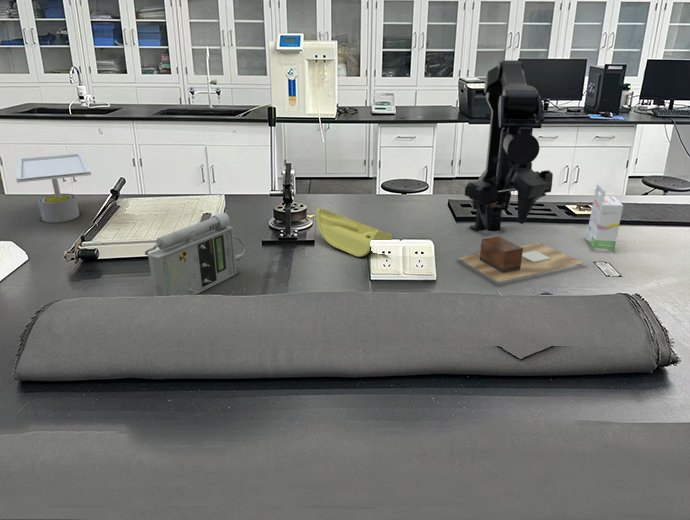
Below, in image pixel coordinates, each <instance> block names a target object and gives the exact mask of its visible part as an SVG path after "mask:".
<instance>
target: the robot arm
mask: <svg viewBox="0 0 690 520" xmlns="http://www.w3.org/2000/svg"><path fill="white" fill-rule="evenodd" d="M523 66H524V64H523V61H520V60H513V59H511V60H510V59H509V60H508V59H504V60H501V61H498V63H497V65H496V66H494V67H492V68H491V69H489V70H488V71H487V73H486V76H485V80H484V91H483V92H484V94H486V95H485V100H486V102H487V104H488V106H489V109H490V123H489V132H488V133H489V134H488V140H487V141H488V142H487V153H486V161H485V162H486V163H485V170H484V171H483V172H482V173H481V175H480V176H479V177H478V180H477V181H470V182H468V183H467V184H466V185H465V187H464V196H466V197H467V198H469V200H472V202H471V203H472V208H473V210H476V212H475V221H474V224H472V225H470V226H469V228H470V229H472V230H474V231H476V232H481V231H482V232H483V231H489V232H497V231H501V224H502V211H505V212H507V210H508V209H509V205H510V201H511V197H512V192H517V219H518V223H519V224H521V225H522V224H523V225H524V223H525V221H526V220H527V218H528V217H529V214H530V212H531V210H532V208H533V206H534V205H535V203H536V202H537V201H538V200H539V199H541V198H543V197H546V196H547V193H551V192H552V188H553V175H554V173H553V172H552V171H550V170H549V169H547V170H541V171H538V170H537V171H534V170H533V161H535V160H536V159H537V157H538V155H539V153H540V148H541V147H540V143H539V141H538V139H537V138H536V137H535V136H534V135H533V131H534V130H533V129H542V124H544V121H545V113H544V112H545V111H544V102H543V100H542V96H541V95H539V91H538V90H537V89H536V87H535V86H532V85H529V84H527V81H526V78H525V70H524V69H523Z"/></svg>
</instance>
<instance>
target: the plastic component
mask: <svg viewBox="0 0 690 520" xmlns="http://www.w3.org/2000/svg"><path fill="white" fill-rule="evenodd" d="M315 215H316V216H315V217H316V224H317V227H318V230H319V232H320V234H321V236H322V238H323V239H324V240H325V241H326V242H327V243H328V244H329V245H331V246H332V247H334V248H336V249H339V250H341V251H343V252H345V253H348V254H350V255H352V256H355V257H357V258H361V257H365V256H367V255H368V254H369V253H370V251H371V249H370V241H371V240H391V241H392V239H393V237H394V236H393V235H392V234H391V233H387V232H384V231H383V230H380V229H377V228H374V227H372V226H369V225H366V224H364V223H362V222H358V221H357V220H353V219H351V218H348V217H345V216H342V215H340V214H338V213H334V212H331V211H328V210H326V209H323V208H321V207H318V208H316V213H315Z"/></svg>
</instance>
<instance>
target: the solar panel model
mask: <svg viewBox="0 0 690 520" xmlns="http://www.w3.org/2000/svg"><path fill="white" fill-rule="evenodd" d="M91 172H92V171H91V169H90V166H89V165H88V163H87V161H86V159H85V157H84V155H83V153H82V152H79V153H67V154H66V153H65V154H56V155H54V154H53V155H44V156H33V157H32V156H31V157H21V158H16V176H15V177H16V178H15V180H16V183H17V184H18V183H26V182H27V183H29V182H37V181H38V182H39V181H48V180H51V183H52V188H53V192H54V194H53V193H52V194H48V195H44V196H41V197H39V198H38V199H37V203H38V204H37V205H38V208H39V212H40V217H41V220H42V221H43V222H46V223H52V224H53V223H54V224H55V223H64V222H68V221H72V220H74V219H77V218H79V216H80V210H79V205H78V200H77V196H76V195H75V194H74V193H61V190H60V185H59V180H58V179H67V178H77V177H85V176H92V173H91Z"/></svg>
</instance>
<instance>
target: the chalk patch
mask: <svg viewBox="0 0 690 520" xmlns="http://www.w3.org/2000/svg"><path fill="white" fill-rule="evenodd" d="M522 258H524V259H526V260H528V261H530V262H532V263H536V262H541V261H546V260H550V259H551V258H550V257H547V256H545V255H543V254H541V253H539V252H537V251H531V252H526V253H522Z"/></svg>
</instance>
